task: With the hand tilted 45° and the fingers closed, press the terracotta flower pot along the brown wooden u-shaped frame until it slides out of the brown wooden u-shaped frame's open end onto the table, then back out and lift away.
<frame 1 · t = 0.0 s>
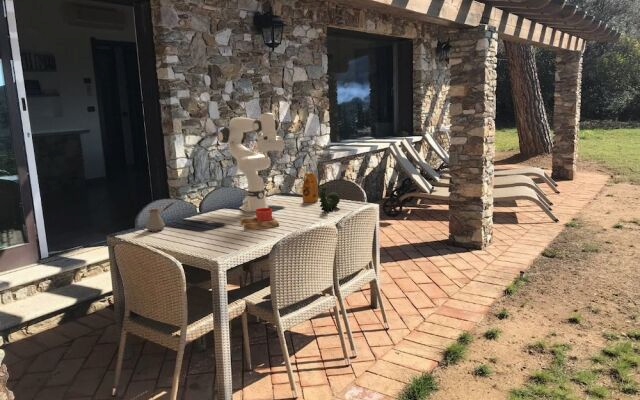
hand: (272, 157, 334), 39 cm above the table, tool pointing down, fingers open, 8 cm apart
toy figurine: (330, 209, 348), on the table
coffee pot: (162, 228, 316), on the table
flower pot: (264, 224, 314), on the table
coffee package: (310, 201, 380), on the table
brown wooden u-shaped frame: (258, 225, 313), on the table
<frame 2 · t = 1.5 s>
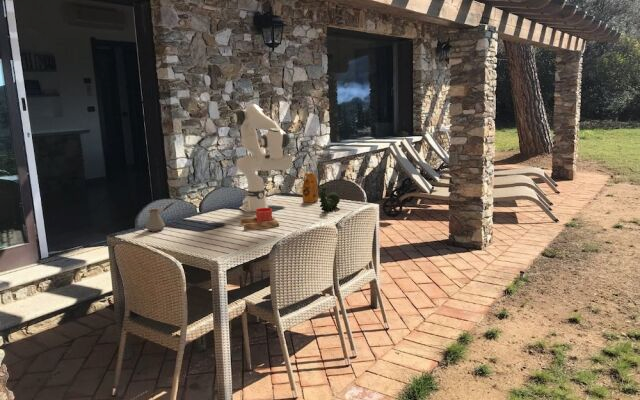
hand: (277, 176, 313), 29 cm above the table, tool pointing down, fingers open, 6 cm apart
nothing on the table moved.
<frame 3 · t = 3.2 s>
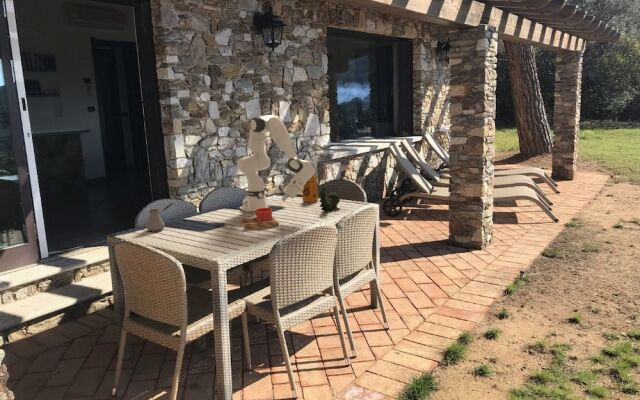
hand: (282, 200, 314), 14 cm above the table, tool tilted 45°, fingers closed
nothing on the table moved.
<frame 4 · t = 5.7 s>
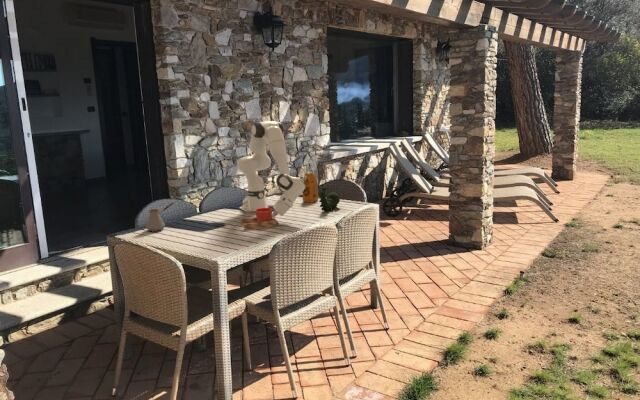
hand: (272, 217, 314), 4 cm above the table, tool tilted 45°, fingers closed
flower pot: (264, 224, 314), on the table, touching gripper
everything else where it was.
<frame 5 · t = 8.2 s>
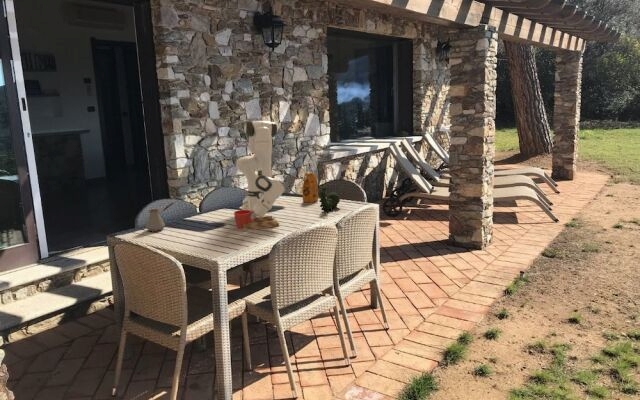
hand: (251, 219, 311), 4 cm above the table, tool tilted 45°, fingers closed
flower pot: (243, 227, 310), on the table, touching gripper
everything else where it was.
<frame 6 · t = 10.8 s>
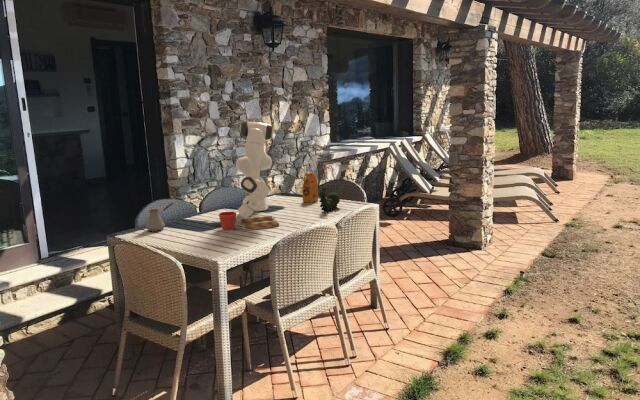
hand: (236, 220, 308), 4 cm above the table, tool tilted 45°, fingers closed
flower pot: (228, 228, 308), on the table, touching gripper
everything else where it was.
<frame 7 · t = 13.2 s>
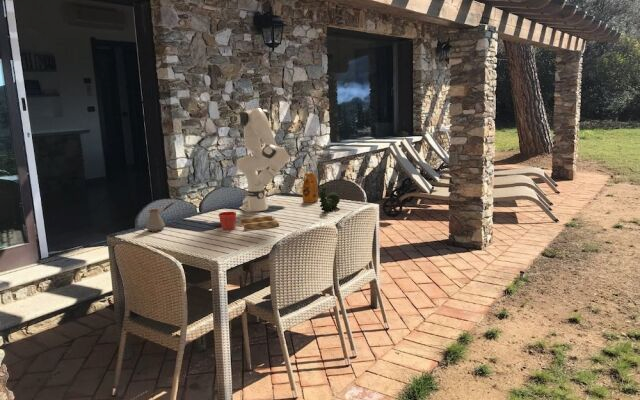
hand: (255, 186, 309), 24 cm above the table, tool tilted 45°, fingers closed
flower pot: (228, 228, 308), on the table
everything else where it was.
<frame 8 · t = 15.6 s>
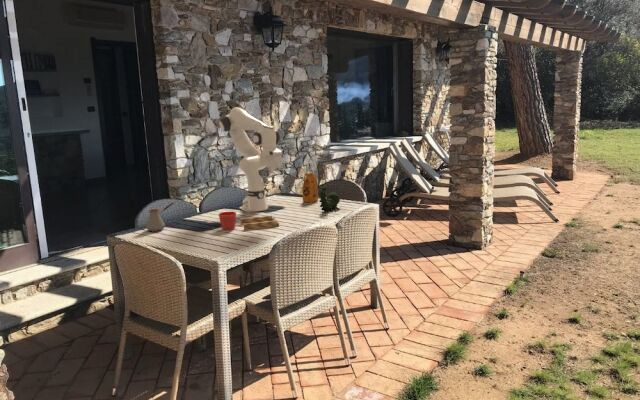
hand: (271, 173, 317), 31 cm above the table, tool pointing down, fingers closed
nothing on the table moved.
at the end: flower pot inside the target area (5.0 cm from its centre), on the table; flower pot moved 22.6 cm from its start; flower pot tilted 0° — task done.
